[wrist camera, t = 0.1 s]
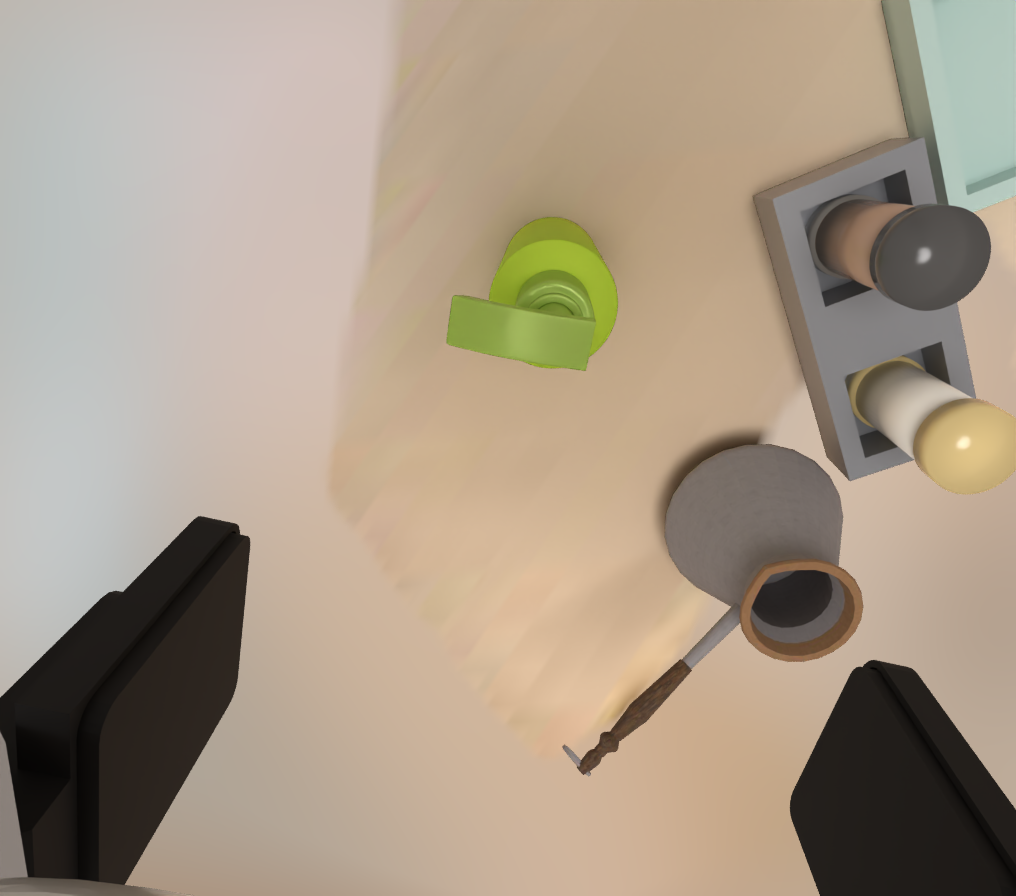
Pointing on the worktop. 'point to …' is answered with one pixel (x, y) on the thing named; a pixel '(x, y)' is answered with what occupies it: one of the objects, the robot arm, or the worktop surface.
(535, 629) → the worktop surface
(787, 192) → the fuse holder
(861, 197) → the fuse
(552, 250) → the soap dispenser
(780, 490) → the coffee pot
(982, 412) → the fuse
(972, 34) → the parts tray
